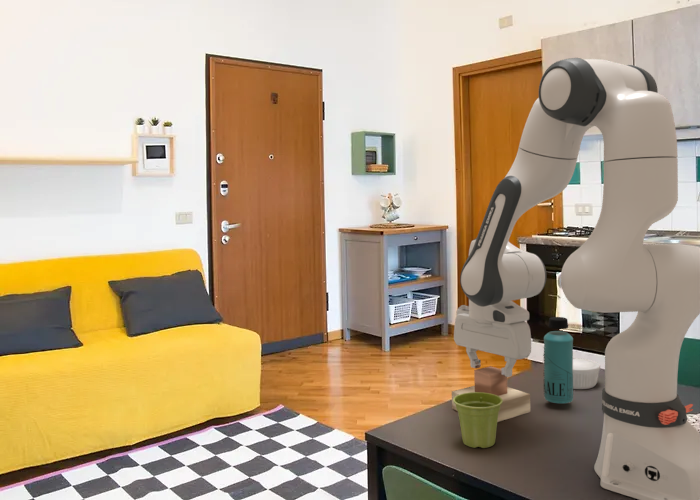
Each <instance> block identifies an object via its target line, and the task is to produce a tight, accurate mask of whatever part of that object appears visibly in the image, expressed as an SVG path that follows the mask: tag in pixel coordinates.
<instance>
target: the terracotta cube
mask: <svg viewBox="0 0 700 500" xmlns="http://www.w3.org/2000/svg"><path fill="white" fill-rule="evenodd" d="M501 373H502V371H501V368H499V367H498V368H497V367H494V366H491V365H490V366H487V367H482V368H481V367H480V368H476V369H474V374H473V375H474V377H473V378H474V386H475V392H483V393H489V394H494V395H497V396H499V395H503V394H507V387H508V377H505V376H502V374H501Z"/></svg>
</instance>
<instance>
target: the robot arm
mask: <svg viewBox="0 0 700 500" xmlns="http://www.w3.org/2000/svg"><path fill="white" fill-rule="evenodd" d="M657 85H658V83H657V82H656V80H655V78H654V77H653V75H651V73H650V72H648V71H647V70H645V69H644V68H642V67H640V66H637V65H633V64H623V63H619V62H616V61H611V60H607V59H601V58H581V57H580V58H579V57H571V58H564V59H560V60H558V61H556V62H554V63H552V64H551V65H550V66H548V67H547V69H545V71H544V72H543V74H542V77H541V79H540V81H539V86H538V98H536V100H534V103H533V104H532V107H531V109H530V111H529V113H528V117H527V118H526V120H525V121H526V122H525V124H524V127H523V129H522V133H521V137H520V140H519V143H518V144H519V145H518V149H517V152H516V156H515V159H514V161H513V163H512V164H511V167H510V168H509V171H507V174H506V175H505V177H504V178H503V179H501V181H499V182H498V184H497V186H496V187H495V188H494V189H495V190H494V191H493V194H492V195H491V199H490V200H489V203H488V206H487V207H486V211H485V213H484V217H483V219H482V222H481V225H480V229H479V231H478V234H477V236H476V238H474V239H473V240H471V242H470V245H469V249H468V257H467V259H466V260H465V262H464V263H463V266H462V269H461V272H460V274H459V275H460V277H459V283H460V287H461V290H462V292H463V293H464V295H465V296H466V297H467V299H468V305H466V304H462V305H460V306H459V307H458V308H457V309H456V314H455V315H456V317H455V319H454V325H453V326H454V329H453V340H454V342H455V344H456V346H459V347H465V350H466V354H467V357H468V358H469V361H470V367H471V368H473V369H481V365H482V364H481V363H482V361H481V359H479V358H478V355H477V351H481V352H485V353H488V354H489V353H490V354H492V355H493V354H494V355H497V356H502V357H504V362H506V363H505V365H504V367H501V368H500V369H501V371H502V373H501V374H502V376H505V377H507V378H510V377H512V376H513V368H514V367H515V364H516V363H517V360H522V359H527V358H529V356H530V355H531V353H532V335H531V333H532V332H531V327H530V325H529V323H528V322H527V321H529V320H530V312H529V311H528V310H527V309H526V308H524V307H522V306H520V305H519V304H517V303H516V302H514V301H517V300H522V299H527V298H528V299H529V298H532V297H534V296H535V297H536V296H538V295H539V294H541V293H542V291H543V289H544V288H545V285H546V282H547V270H546V266H545V264H544V262H543V260H542V259H541V258H540V257H539V256H538V255H537V254H536V253H533V252H528V251H526V250H524V249H521V248H518V247H517V246H516V245H514V244H513V243H512V242H510V237H511V235H512V232H513V230H514V227H515V226H516V223H517V221H518V220H519V219H520V218H521V217H522V216H523V214H525V213H526V212H528V211H529V210H531V209H532V208H534V207H536V206H538V205H539V204H542V203H543V202H545V201H547V200H551V199H552V198H554V197H556V196H558V195H559V194H560V193H562V192H563V191H564V190H565V189H566V188H567V186H568V185H569V184H570V182H571V180H572V177H573V176H574V174H575V169H576V167H577V166H576V165H577V163H578V159H579V153H580V150H581V149H580V148H581V145H582V141H583V138H584V137H585V134H586V133H587V132H588V131H589V129H591V128H593V127H596V128H598V130H599V131H600V133H601V135H602V139H603V140H602V141H603V189H602V201H601V202H602V204H601V210H600V214H599V216H598V217H599V218H598V220H597V223H596V224H595V227H594V228H593V230H592V232H591V233H590V235H589V237H588V238H587V239H586V240H585V242H584V243H582V244H581V245H580V246H579V247H578V248H577V249H576V250H574V251H573V252H572V253H571V254H570V255H569V256H568V257H567V259H566V260H565V262H564V263H563V265H562V268H561V273H560V285H561V290H562V292H563V295H564V296H565V298H566V299H567V301H568V302H569V303H570V304H571V305H572V306H573V307H574V308H575V309H580V310H584V311H590V312H597V313H603V314H604V313H605V314H606V313H607V314H608V313H630V312H631V313H633V312H635V313H636V312H637V314H636V316H635V319H634V320H633V322H632V323H631V325H630V326H628V327H627V328H626V329H624V330H622V331H621V332H620V333H617V334H616V335H614V336H613V337H612V338H611V339H610V341H608V343H607V345H606V348H605V349H604V387H603V388H602V390H601V391H602V394H601V411H602V415H603V424H602V425H603V426H602V433H601V441H600V445H599V450H598V455H597V458H596V461H595V463H594V467H593V468H594V472H595V473H596V475H598V477H599V478H600V487H601V488H603V489H605V490H608V491H610V492H613V493H617V494H621V495H623V496H627V497H630V498H633V499H637V500H700V431H699V430H698V429H697V428H696V427H694V425H693V424H692V423H690V422H689V421H688V415H687V413H690V412H692V411H693V410H694V408H693V409H692V407H693V406H694V404H693V403H689V404H687V405H684V404H683V402H682V400H681V398H680V395H679V394H678V375H679V374H678V371H679V362H680V361H679V359H680V352H681V348H682V345H683V341H684V340H685V336H686V335H687V333H688V331H689V329H690V327H691V326H692V324H693V323H694V321H696V319H697V318H698V316H699V315H700V246H697V245H691V244H683V243H667V244H665V243H661V244H660V243H659V244H644V241H645V240H644V239H645V236H646V234H647V232H648V230H649V229H650V227H652V225H654V224H655V223H657V222H659V221H661V220H663V219H664V218H666V217H667V216H669V215H670V214H671V213H672V212H673V211H674V209H676V208H675V207H676V206H677V204H678V200H679V188H678V187H679V183H678V181H679V180H678V177H679V176H678V175H679V174H678V173H679V172H678V170H679V169H678V165H679V164H678V162H679V161H678V159H679V157H678V139H677V130H676V124H675V119H674V114H673V110H672V105H671V103H670V101H669V99H668V98H666V97H665V95H664V94H661V93H658V91H659V90H658V86H657Z"/></svg>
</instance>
